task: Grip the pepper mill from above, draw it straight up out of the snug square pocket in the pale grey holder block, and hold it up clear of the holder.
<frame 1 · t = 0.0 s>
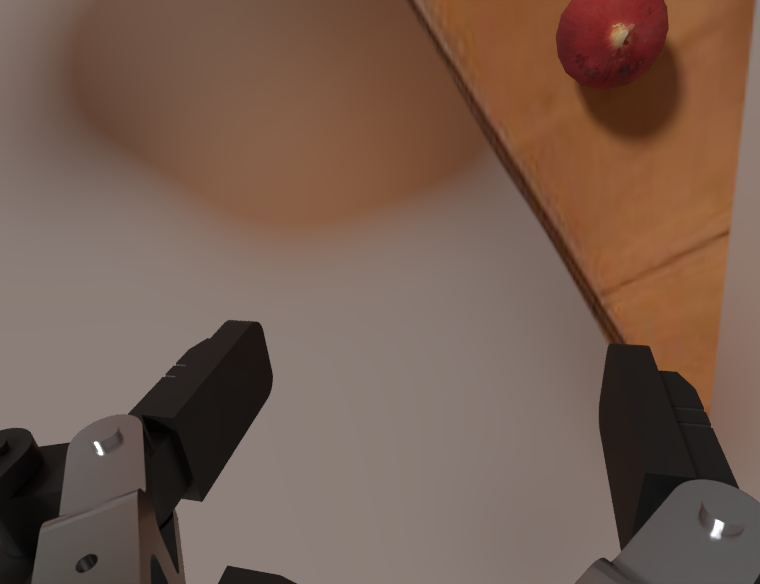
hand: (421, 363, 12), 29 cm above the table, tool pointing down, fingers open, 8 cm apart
onion: (601, 30, 33), on the table
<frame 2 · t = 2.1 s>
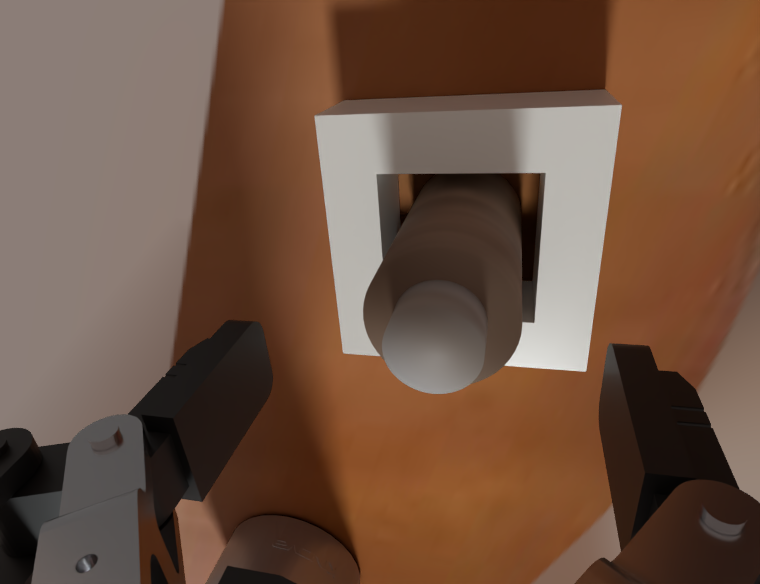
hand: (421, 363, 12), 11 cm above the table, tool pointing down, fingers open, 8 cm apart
holder: (466, 217, 22), on the table
pepper mill: (453, 268, 18), in the holder
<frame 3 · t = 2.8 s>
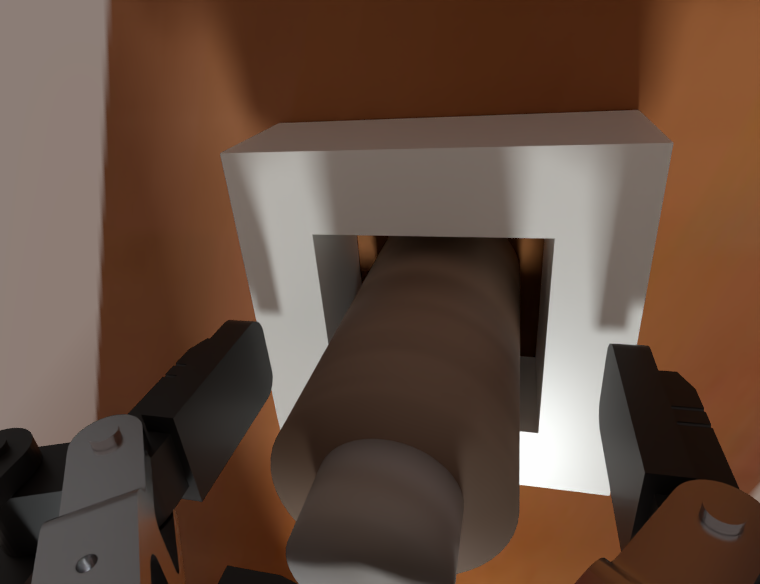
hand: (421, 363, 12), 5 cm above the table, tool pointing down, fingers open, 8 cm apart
holder: (447, 276, 16), on the table
pepper mill: (421, 373, 12), in the holder
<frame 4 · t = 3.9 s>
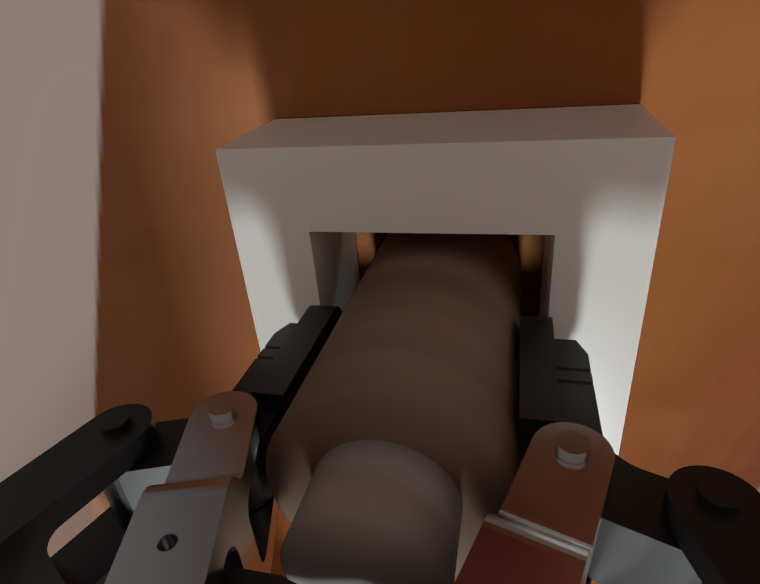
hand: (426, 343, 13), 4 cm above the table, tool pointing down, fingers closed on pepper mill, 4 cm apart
holder: (446, 274, 16), on the table
pepper mill: (419, 372, 12), in the holder, touching gripper
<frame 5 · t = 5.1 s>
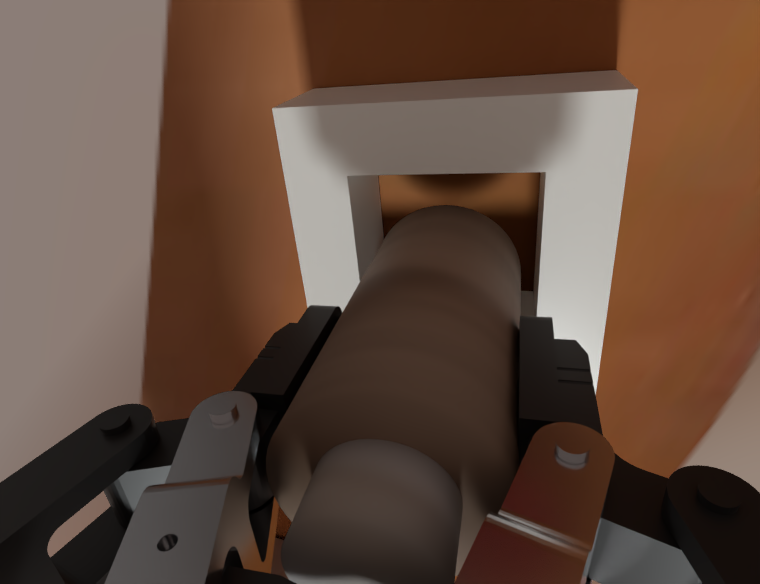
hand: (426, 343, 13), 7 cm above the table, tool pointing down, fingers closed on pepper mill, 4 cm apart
holder: (457, 220, 19), on the table
pepper mill: (420, 372, 12), point 9 cm above the table, touching gripper
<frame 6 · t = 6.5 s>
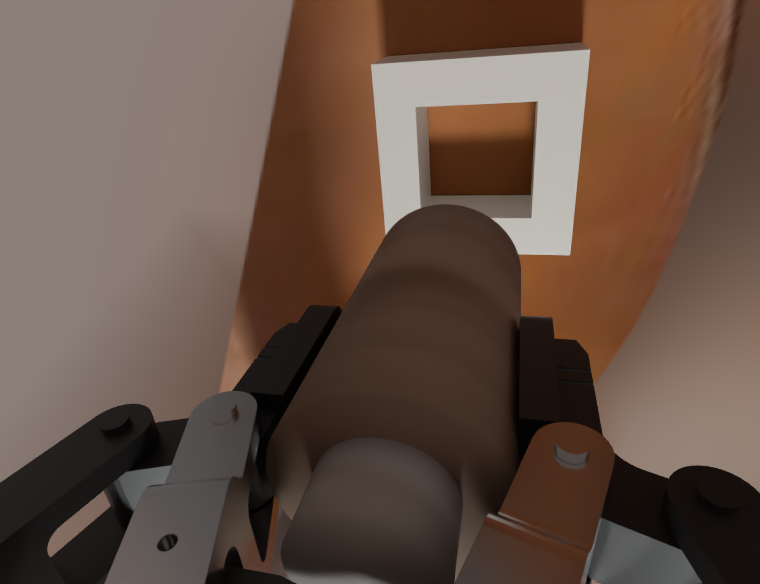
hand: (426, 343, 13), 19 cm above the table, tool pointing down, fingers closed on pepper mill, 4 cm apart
holder: (480, 145, 29), on the table
pepper mill: (420, 370, 12), point 20 cm above the table, touching gripper
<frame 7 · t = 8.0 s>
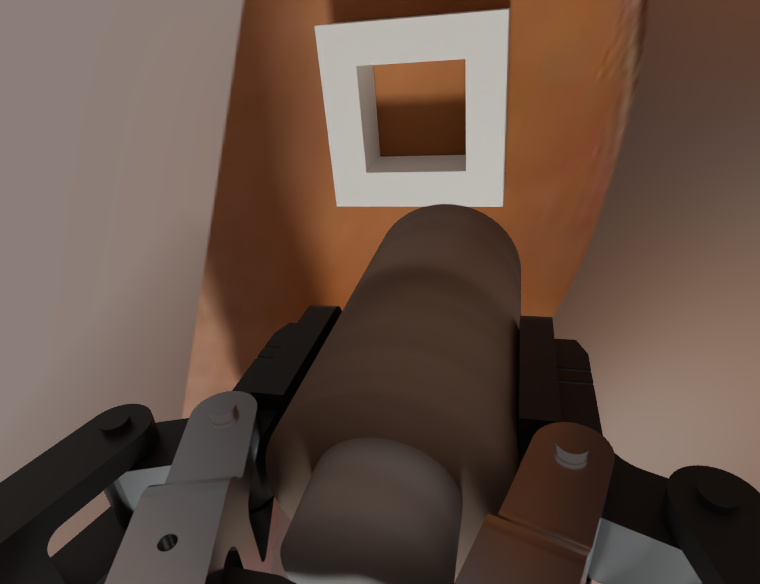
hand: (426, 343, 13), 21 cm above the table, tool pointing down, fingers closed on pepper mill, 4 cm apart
holder: (423, 107, 31), on the table
pepper mill: (419, 370, 12), point 22 cm above the table, touching gripper
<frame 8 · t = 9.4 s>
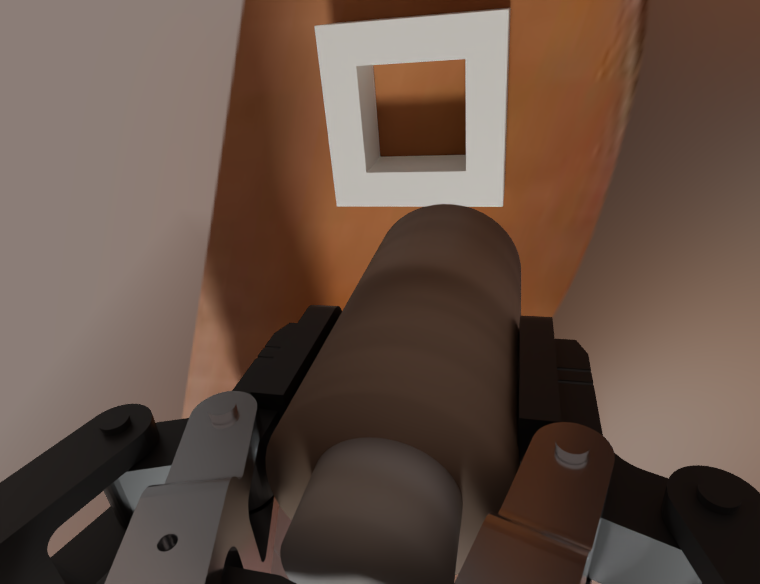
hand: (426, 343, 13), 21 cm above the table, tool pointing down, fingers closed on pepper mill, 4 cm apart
holder: (423, 107, 31), on the table
pepper mill: (420, 370, 12), point 22 cm above the table, touching gripper
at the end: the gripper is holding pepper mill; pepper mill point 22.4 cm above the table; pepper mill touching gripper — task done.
